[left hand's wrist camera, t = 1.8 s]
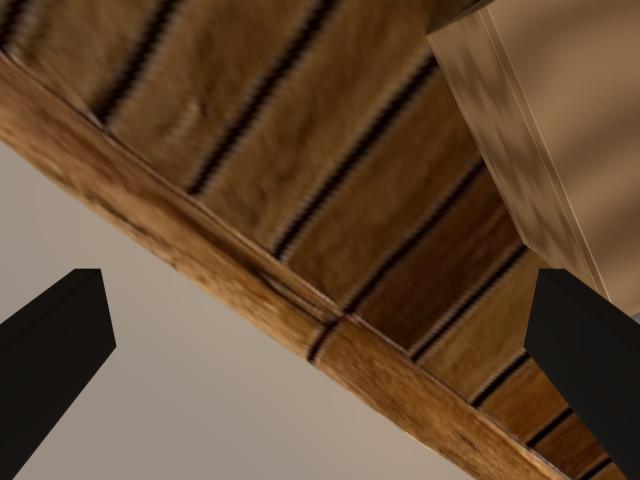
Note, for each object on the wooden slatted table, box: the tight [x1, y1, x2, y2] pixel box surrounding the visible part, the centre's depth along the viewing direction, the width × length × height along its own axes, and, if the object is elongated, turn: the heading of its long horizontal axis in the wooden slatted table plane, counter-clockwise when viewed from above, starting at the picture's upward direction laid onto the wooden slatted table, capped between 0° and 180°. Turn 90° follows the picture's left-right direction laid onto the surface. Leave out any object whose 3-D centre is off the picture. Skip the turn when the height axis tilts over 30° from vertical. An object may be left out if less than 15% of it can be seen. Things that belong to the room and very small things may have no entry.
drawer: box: [543, 258, 640, 324], centre depth 28 cm, size 23×10×10 cm, turn 32°
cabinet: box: [426, 0, 640, 309], centre depth 27 cm, size 19×11×12 cm, turn 32°
